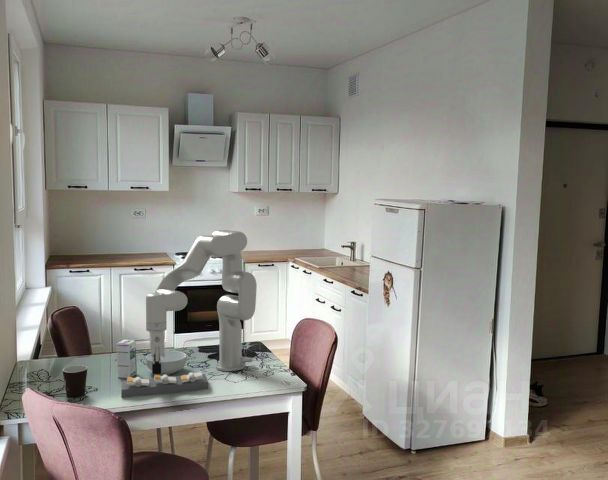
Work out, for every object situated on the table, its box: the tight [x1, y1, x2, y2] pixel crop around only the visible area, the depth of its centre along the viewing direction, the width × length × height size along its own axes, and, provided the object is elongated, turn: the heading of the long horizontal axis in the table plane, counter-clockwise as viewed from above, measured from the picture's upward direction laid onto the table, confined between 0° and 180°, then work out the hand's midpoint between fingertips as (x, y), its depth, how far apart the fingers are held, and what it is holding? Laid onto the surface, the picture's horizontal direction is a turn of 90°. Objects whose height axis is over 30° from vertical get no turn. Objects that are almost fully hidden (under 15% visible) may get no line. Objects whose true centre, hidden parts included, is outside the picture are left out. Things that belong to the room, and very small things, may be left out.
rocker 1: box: [126, 376, 150, 387], centre depth 215 cm, size 8×4×2 cm, turn 107°
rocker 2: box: [180, 371, 203, 383], centre depth 220 cm, size 8×4×2 cm, turn 107°
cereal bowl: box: [145, 350, 188, 376], centre depth 240 cm, size 17×17×7 cm
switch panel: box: [120, 373, 209, 399], centre depth 220 cm, size 32×10×3 cm, turn 107°
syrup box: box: [115, 339, 138, 379], centre depth 234 cm, size 6×6×14 cm
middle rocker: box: [153, 374, 176, 384], centre depth 217 cm, size 8×4×2 cm, turn 107°
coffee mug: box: [62, 364, 88, 399], centre depth 214 cm, size 12×9×10 cm
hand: (156, 373), depth 216 cm, fingers closed
